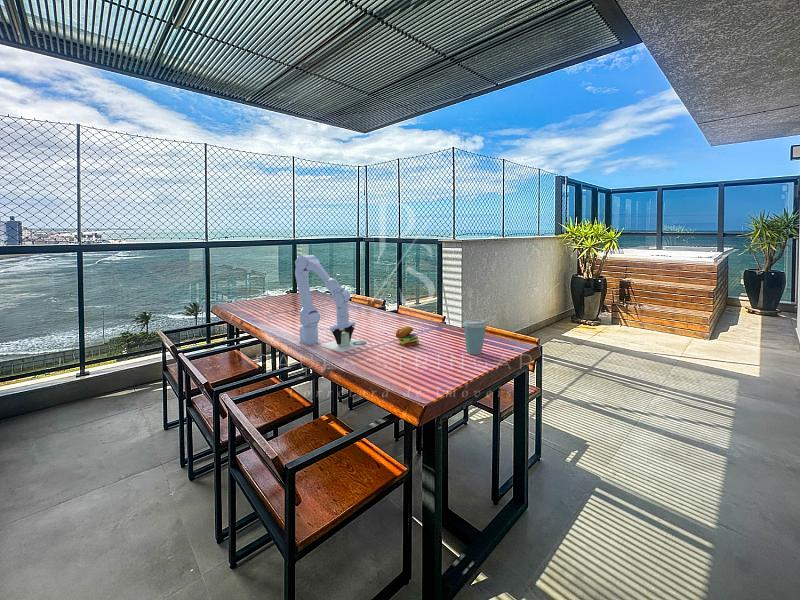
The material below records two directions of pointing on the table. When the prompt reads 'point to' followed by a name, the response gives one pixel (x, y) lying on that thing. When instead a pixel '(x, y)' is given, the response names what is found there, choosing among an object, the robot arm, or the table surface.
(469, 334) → the disposable coffee cup
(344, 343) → the green acorn nut
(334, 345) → the mat
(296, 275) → the robot arm
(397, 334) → the cheeseburger
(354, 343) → the coaster
